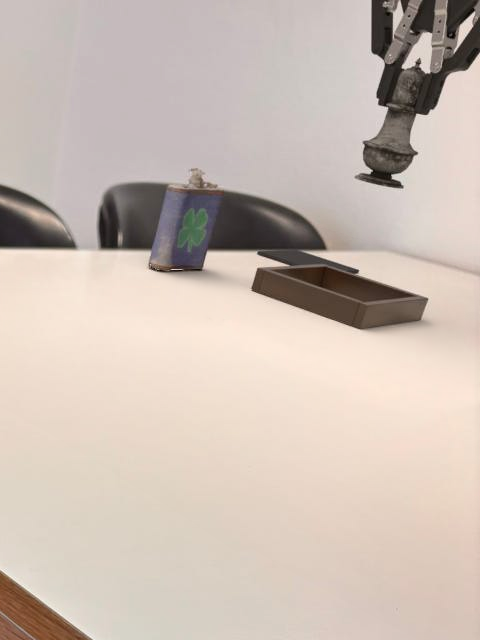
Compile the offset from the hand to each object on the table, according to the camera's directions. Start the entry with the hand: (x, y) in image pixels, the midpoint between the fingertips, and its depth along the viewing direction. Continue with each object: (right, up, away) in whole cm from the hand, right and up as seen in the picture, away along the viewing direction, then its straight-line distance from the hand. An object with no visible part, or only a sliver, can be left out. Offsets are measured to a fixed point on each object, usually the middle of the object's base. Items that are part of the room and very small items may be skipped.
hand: (402, 109), depth 111 cm
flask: (-22, -12, +12) cm, 28 cm away
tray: (-4, -17, +10) cm, 20 cm away
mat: (-1, -5, +31) cm, 32 cm away
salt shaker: (-1, -6, +4) cm, 7 cm away
